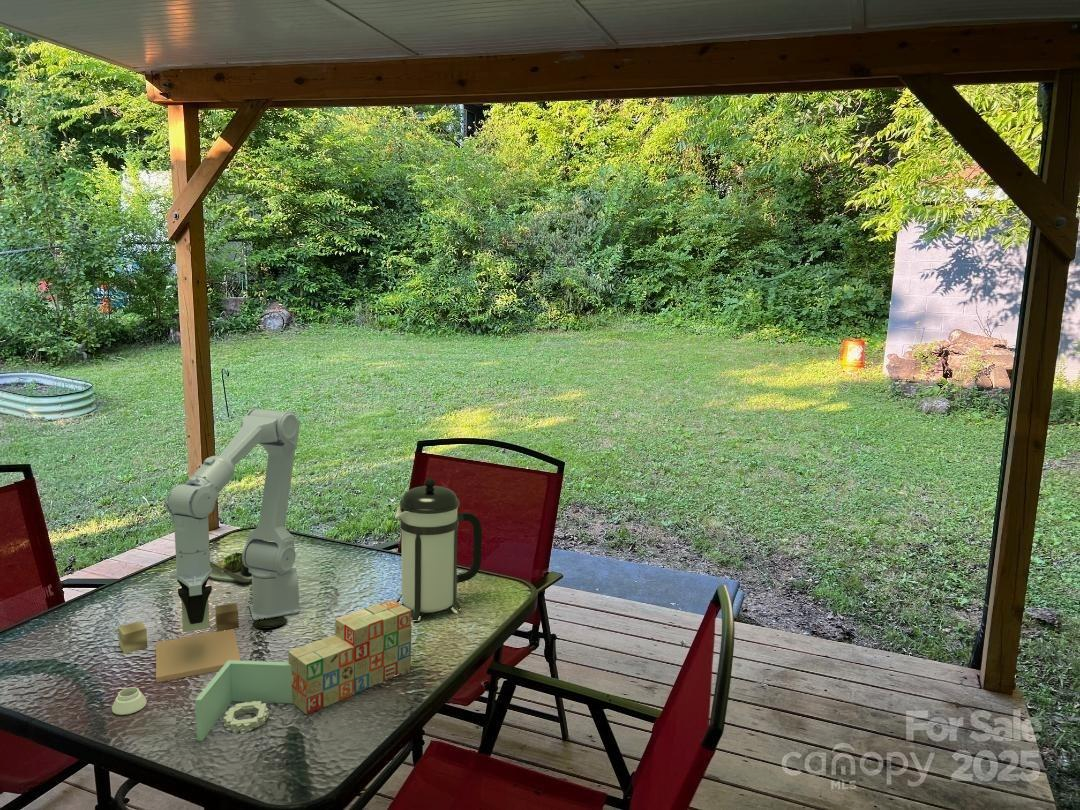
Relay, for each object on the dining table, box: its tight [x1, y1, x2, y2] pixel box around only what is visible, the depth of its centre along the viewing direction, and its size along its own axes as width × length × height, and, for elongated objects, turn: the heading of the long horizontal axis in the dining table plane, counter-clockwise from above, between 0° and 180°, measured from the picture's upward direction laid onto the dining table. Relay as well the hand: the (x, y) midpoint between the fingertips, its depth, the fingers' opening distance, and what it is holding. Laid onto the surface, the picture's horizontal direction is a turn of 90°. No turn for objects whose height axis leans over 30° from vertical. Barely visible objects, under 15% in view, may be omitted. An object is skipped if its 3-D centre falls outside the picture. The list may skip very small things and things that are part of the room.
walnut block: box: [215, 602, 240, 632], centre depth 151 cm, size 4×4×4 cm
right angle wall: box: [194, 660, 294, 742], centre depth 119 cm, size 12×12×8 cm
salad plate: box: [209, 551, 252, 585], centre depth 179 cm, size 19×18×5 cm
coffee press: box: [394, 477, 483, 621], centre depth 161 cm, size 17×16×30 cm
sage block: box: [180, 598, 211, 633], centre depth 137 cm, size 4×4×6 cm
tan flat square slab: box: [155, 629, 242, 683], centre depth 139 cm, size 14×14×1 cm
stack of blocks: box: [287, 599, 413, 715], centre depth 130 cm, size 21×6×12 cm, turn 136°
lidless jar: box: [111, 686, 148, 716], centre depth 122 cm, size 5×3×5 cm
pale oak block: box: [117, 621, 148, 655], centre depth 141 cm, size 4×4×4 cm
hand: (195, 616), depth 137 cm, fingers closed on sage block, 4 cm apart
